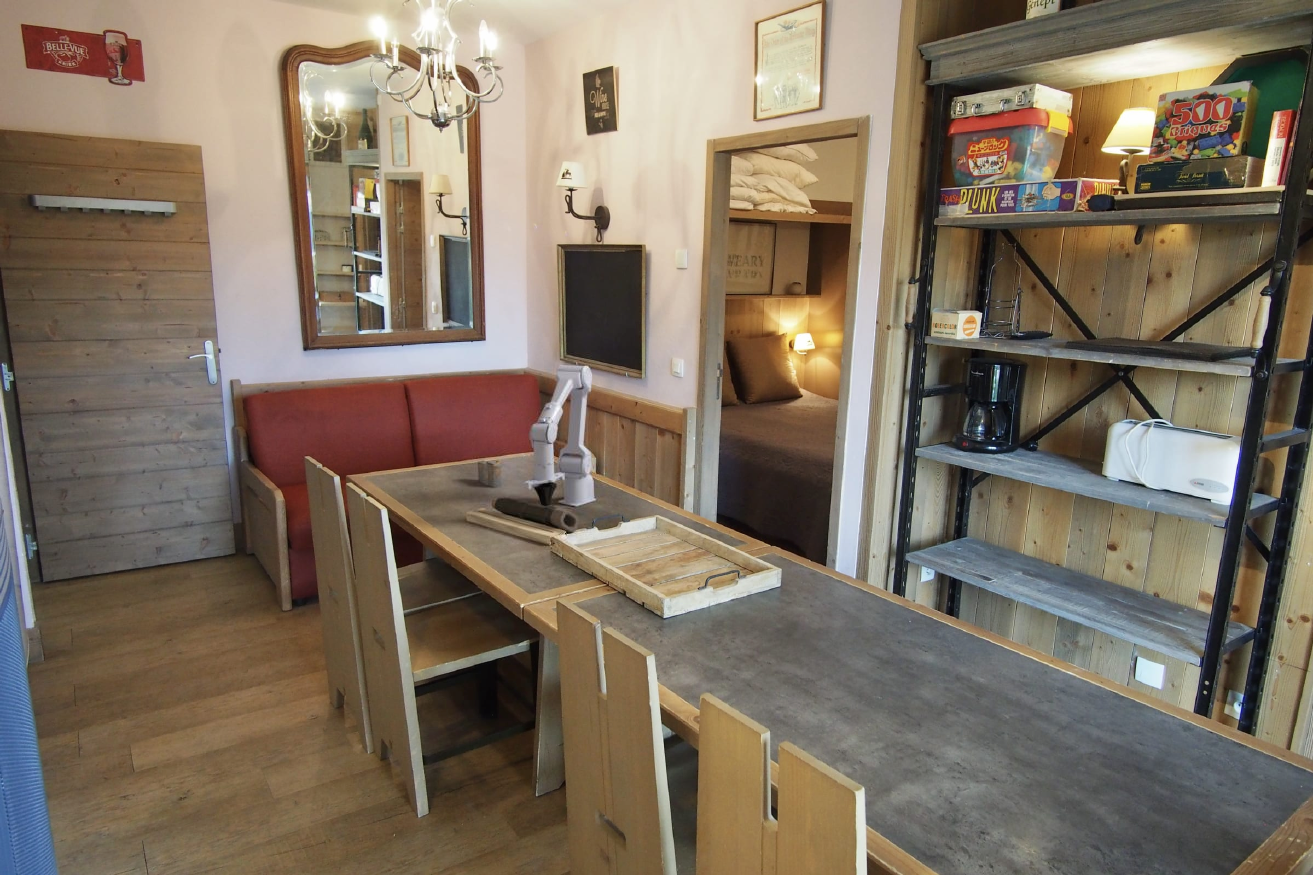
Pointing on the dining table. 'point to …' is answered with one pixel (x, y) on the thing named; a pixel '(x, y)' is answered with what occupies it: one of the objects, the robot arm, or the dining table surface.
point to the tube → (537, 513)
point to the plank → (513, 525)
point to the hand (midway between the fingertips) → (545, 507)
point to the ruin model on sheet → (489, 473)
